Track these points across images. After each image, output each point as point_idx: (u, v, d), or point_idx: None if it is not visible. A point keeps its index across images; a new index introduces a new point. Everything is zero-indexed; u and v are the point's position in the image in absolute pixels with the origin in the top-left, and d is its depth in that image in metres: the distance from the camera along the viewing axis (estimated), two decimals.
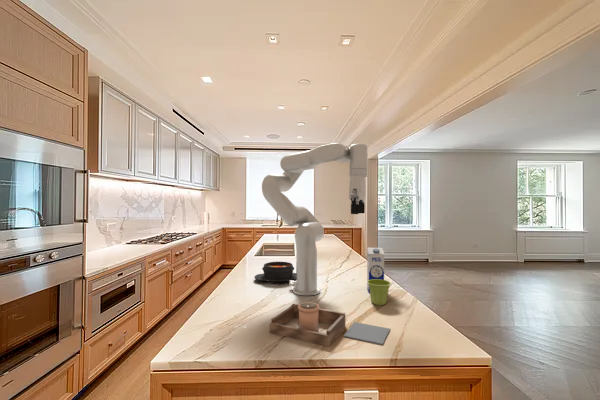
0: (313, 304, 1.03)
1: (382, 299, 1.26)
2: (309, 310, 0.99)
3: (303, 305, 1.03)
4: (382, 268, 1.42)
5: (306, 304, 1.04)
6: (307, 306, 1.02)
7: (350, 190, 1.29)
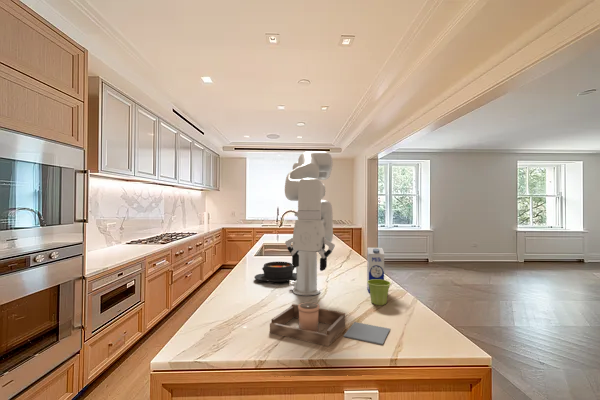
0: (313, 304, 1.03)
1: (382, 299, 1.26)
2: (309, 310, 0.99)
3: (303, 305, 1.03)
4: (382, 268, 1.42)
5: (306, 304, 1.04)
6: (307, 306, 1.02)
7: (321, 240, 0.98)
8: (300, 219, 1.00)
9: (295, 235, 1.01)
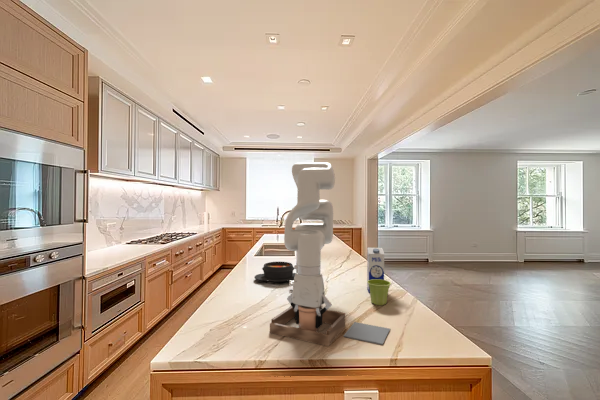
0: None
1: (382, 299, 1.26)
2: (309, 310, 0.99)
3: None
4: (382, 268, 1.42)
5: None
6: None
7: (320, 296, 0.99)
8: (300, 275, 1.00)
9: (295, 289, 1.02)
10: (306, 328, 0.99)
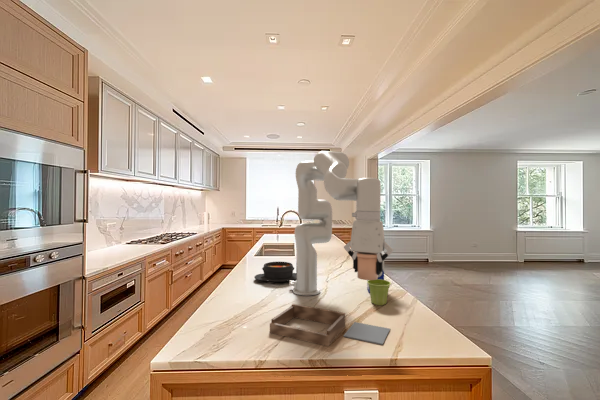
0: None
1: (382, 299, 1.26)
2: (370, 256, 0.96)
3: None
4: None
5: None
6: (367, 253, 0.99)
7: (382, 241, 0.96)
8: (360, 220, 0.97)
9: (354, 236, 0.99)
10: (367, 274, 0.97)
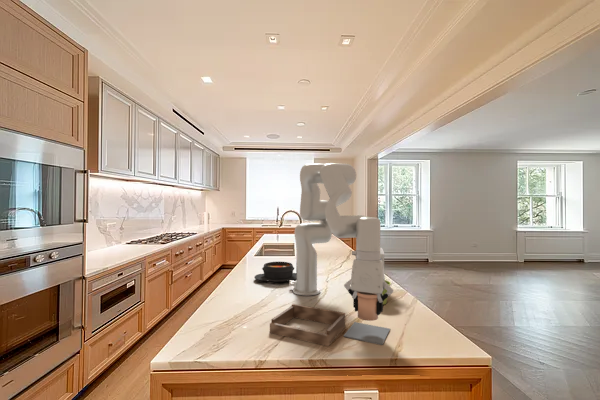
0: None
1: None
2: (370, 296, 0.96)
3: (362, 292, 1.00)
4: None
5: None
6: None
7: (382, 282, 0.96)
8: (360, 260, 0.97)
9: (354, 275, 0.99)
10: (367, 315, 0.97)
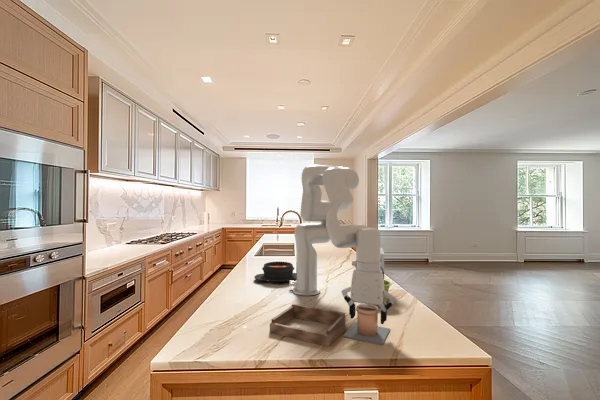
0: (372, 306, 1.01)
1: None
2: (370, 312, 0.97)
3: (362, 307, 1.00)
4: (382, 268, 1.42)
5: (364, 306, 1.01)
6: (366, 308, 0.99)
7: (382, 293, 0.96)
8: (360, 271, 0.98)
9: (354, 286, 0.99)
10: (367, 330, 0.97)
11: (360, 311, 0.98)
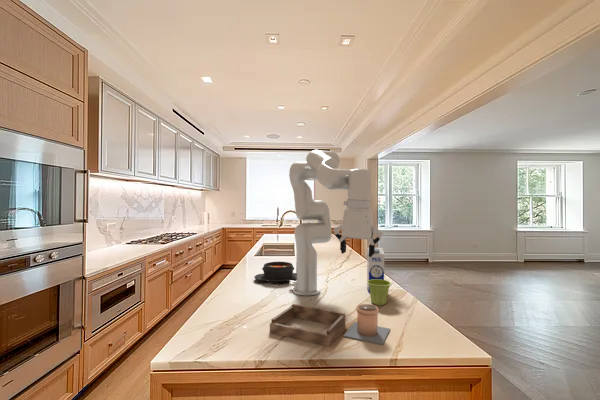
0: (372, 306, 1.01)
1: (382, 299, 1.26)
2: (370, 312, 0.97)
3: (362, 307, 1.00)
4: (382, 268, 1.42)
5: (364, 306, 1.01)
6: (366, 308, 0.99)
7: (370, 228, 1.04)
8: (351, 208, 1.05)
9: (345, 223, 1.07)
10: (367, 330, 0.97)
11: (360, 311, 0.98)
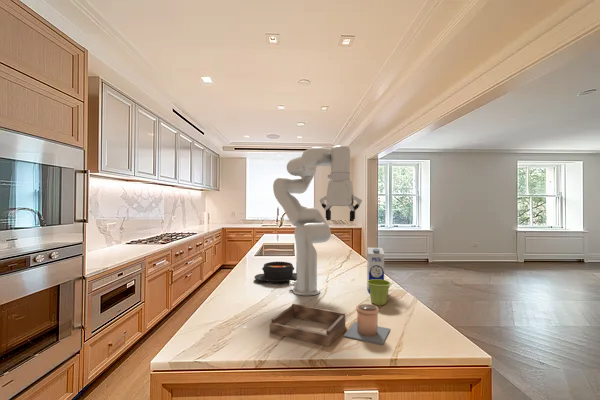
0: (372, 306, 1.01)
1: (382, 299, 1.26)
2: (370, 312, 0.97)
3: (362, 307, 1.00)
4: (382, 268, 1.42)
5: (364, 306, 1.01)
6: (366, 308, 0.99)
7: (351, 196, 1.20)
8: (333, 179, 1.21)
9: (329, 193, 1.23)
10: (367, 330, 0.97)
11: (360, 311, 0.98)
